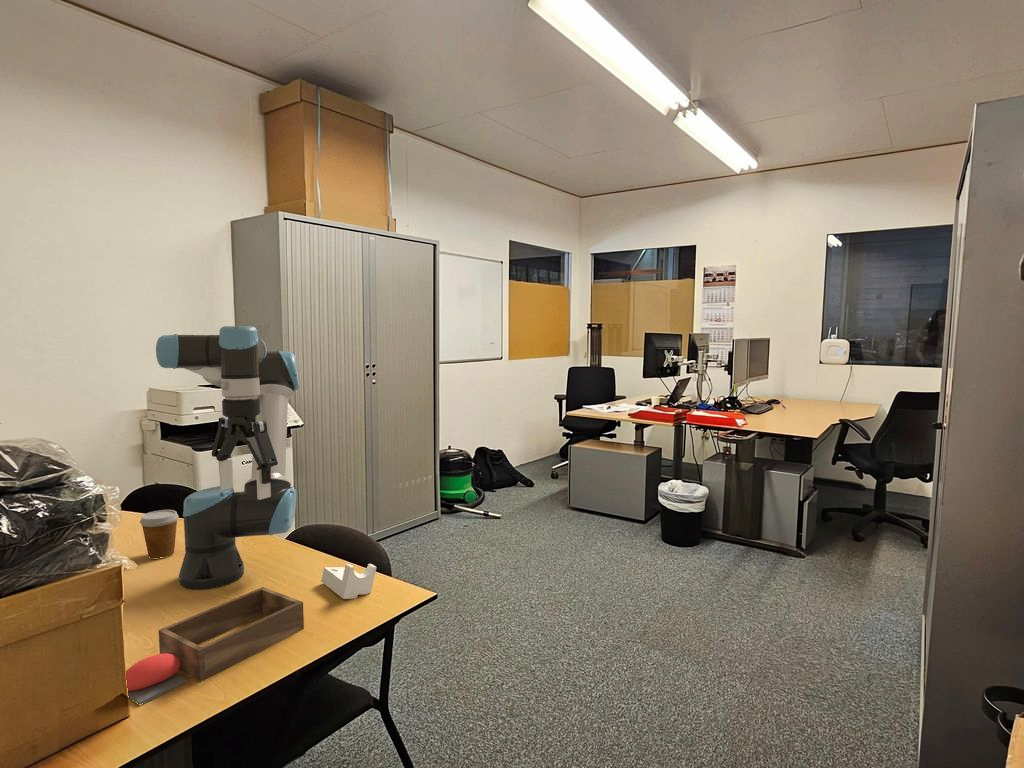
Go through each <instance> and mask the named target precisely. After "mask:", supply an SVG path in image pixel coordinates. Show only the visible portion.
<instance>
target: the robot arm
mask: <svg viewBox="0 0 1024 768" xmlns="http://www.w3.org/2000/svg"><path fill="white" fill-rule="evenodd" d="M155 356H156V361H157V363H158V365H159V366H160V367H161V368H163V369H173V370H176V369H185V370H188V371H190V372H191V373H195V374H196V375H200V376H201V377H202V378H203V379H204V381H206V382H207V383H208V384H211V385H212V386H216V387H219V388H221V396H222V397H223V399H222V400H221V406H222V407H221V409H222V410H221V411H222V417H218V422H217V423H218V424H217V425H218V427H217V431H216V434H215V439H214V443H213V446H212V450H211V457H215V459H216V461H217V462H218V473H219V474H218V475H219V486H218V485H217V486H213V487H207V488H203V489H201V490H198V491H195V492H193V493H190V494H189V495H188V496H187V497H185V498H184V501H183V512H182V517H183V529H184V533H183V534H184V546H185V554H184V557H183V560H182V563H181V566H180V571H179V574H178V583H179V586H180V587H182V588H184V589H186V590H187V589H188V590H195V591H196V590H199V591H200V590H210V589H215V588H219V587H224V586H226V585H230V584H232V583H234V582H237V580H239V579H241V578H242V577H243V575H244V573H245V565H244V562H243V561H244V560H243V559H242V557H241V555H240V552H239V550H238V547H237V544H236V538H245V537H246V538H247V537H256V536H274V535H278V534H279V535H280V534H285V533H288V532H289V531H290V529H291V528H292V526H293V523H294V519H295V515H296V508H297V490H296V489H295V488H294V487H293V488H292V483H291V481H289V480H288V479H287V478H286V467H287V465H286V463H287V435H288V413H289V412H288V406H289V401H290V400H291V399H292V398H293V397H294V394H295V391H299V390H300V380H299V372H298V366H297V360H296V359H297V358H296V356H295V354H294V353H293V352H291V351H285V350H284V351H282V350H277V351H272V350H270V351H269V350H268V347H267V344H266V343H265V341H264V340H263V339H261V337H259V335H258V329H257V328H256V327H255V326H252V325H251V326H248V325H246V326H243V325H241V326H240V325H239V326H236V325H235V326H233V325H232V326H231V325H224V326H222V327H220V328H219V334H202V335H201V334H177V333H175V334H163V335H160V336H159V337H158V338H157V340H156V344H155ZM239 441H241V442H243V443H244V444H245V445H247V446H248V447H247V448H248V449H249V450H250V452H251V455H252V457H251V459H252V460H251V474H250V475H251V477H250V479H249V480H247V481H246V482H245V483H244V486H243V487H244V488H243V491H235V489H234V473H233V472H234V470H233V459H232V458H233V456H232V453H233V452H234V450H235V447H236V446H237V444H238V442H239Z"/></svg>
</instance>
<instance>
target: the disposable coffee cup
mask: <svg viewBox="0 0 1024 768" xmlns="http://www.w3.org/2000/svg"><path fill="white" fill-rule="evenodd" d="M179 517H180V516H179V514H178V513H177V511H176V510H174V509H161V510H160V509H159V510H155V511H154V510H153V511H149V512H147V513H144V514H143V515H141V517H140V518H141V519H140V521H139V523H140V525H141V527H142V531H143V537H144V541H145V546H146V550H147V555H148V558H149V557H150V558H160V557H166V556H169V557H171V556H173V555H174V554H175V548H176V537H177V535H176V534H177V524H178V519H179ZM173 553H174V554H173ZM172 554H173V555H172ZM170 555H171V556H170ZM150 558H149V559H150ZM166 558H167V557H166Z"/></svg>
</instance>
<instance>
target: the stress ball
mask: <svg viewBox="0 0 1024 768" xmlns="http://www.w3.org/2000/svg"><path fill="white" fill-rule="evenodd" d="M179 668H180V660H179V658H178V657H176V656H175V655H173V654H168V653H165V654H160V653H157V654H154V655H150V656H148V657H144V659H141V660H139V661H137V662H135V663H134V664H132V665H131V666H130V667H129V668H127V670H126V671H125V672H126V680H127V688H128V691H135V690H140V689H143V688H146V687H149V686H151V685H154V684H156V683H159V682H162V681H164V680H166V679H168V678H170V677H172V676H173V675H174V674H175V673H176V674H177V673H178V671H180V670H179Z"/></svg>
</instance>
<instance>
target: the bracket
mask: <svg viewBox="0 0 1024 768" xmlns="http://www.w3.org/2000/svg"><path fill="white" fill-rule="evenodd" d="M376 571H377V566H376V565H374V564H372V563H368V564H367V567H366V568H365V569H364V570H363V571H362V572H361V573H359V572H357V571H356V570H355V567H354V566H353V565H351V564H350V563H345V565H344V566H343V567H340V566H339V567H336V566H335V567H334V566H333V567H331V566H330V567H328V566H327V567H326V566H325V567H323V571H322V576H321V580H320V582H321V583H323V584H324V585H325V587H328V588H329V589H330V590H331V591H333V592H334V593H335V594H337V595H338V596H339V597H340V598H342V599H343V600H351V599H353V598H354V599H357V598H358V595H369V594H368V593H370V594H372V589H373V586H374V581H375V576H376ZM356 597H357V598H356ZM354 599H353V600H354Z"/></svg>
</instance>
